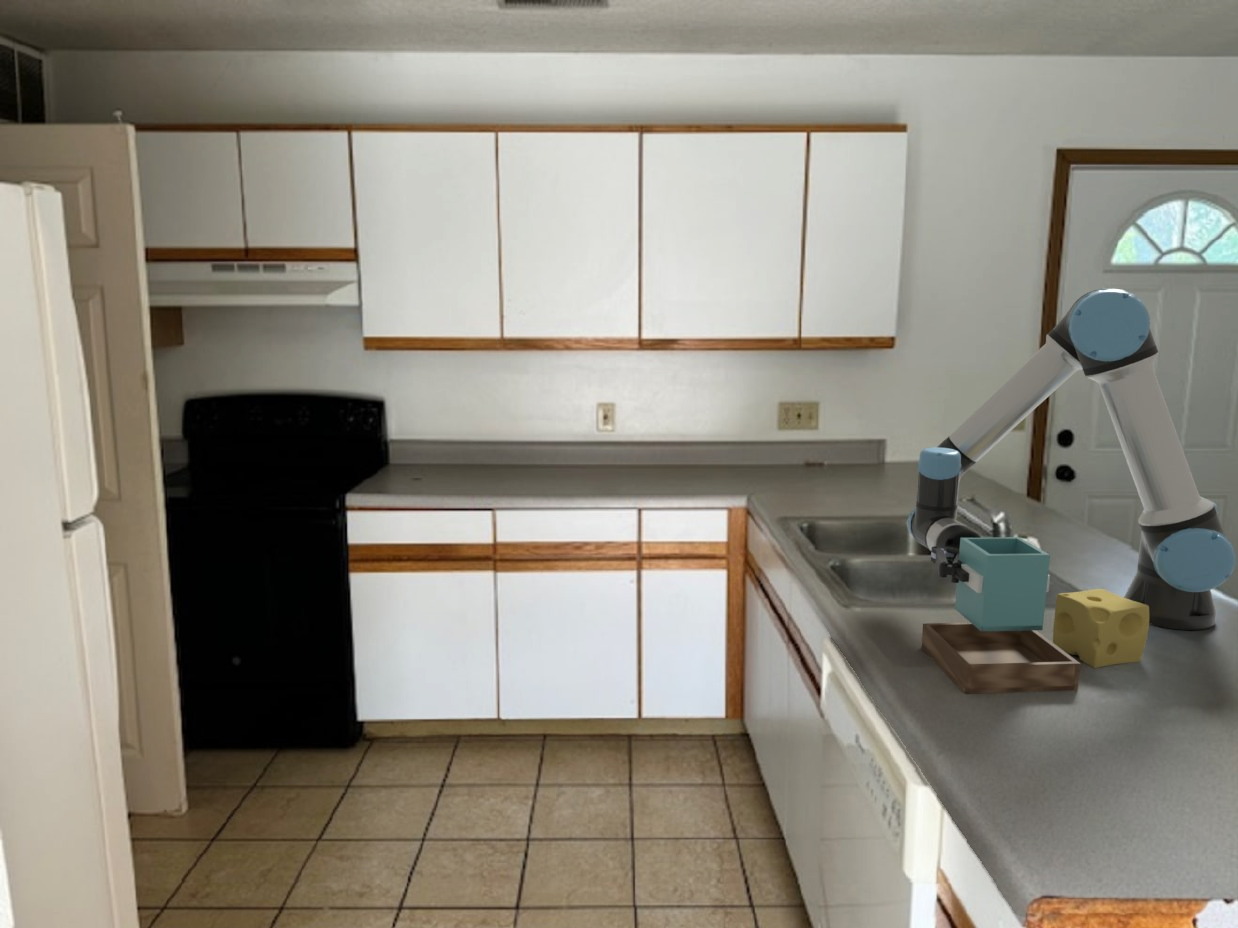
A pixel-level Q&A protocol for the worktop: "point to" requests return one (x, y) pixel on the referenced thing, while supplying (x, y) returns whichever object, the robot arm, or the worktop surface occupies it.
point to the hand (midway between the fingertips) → (1013, 584)
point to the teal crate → (1004, 584)
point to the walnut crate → (999, 659)
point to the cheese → (1100, 627)
